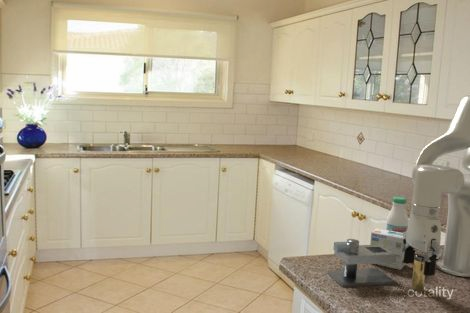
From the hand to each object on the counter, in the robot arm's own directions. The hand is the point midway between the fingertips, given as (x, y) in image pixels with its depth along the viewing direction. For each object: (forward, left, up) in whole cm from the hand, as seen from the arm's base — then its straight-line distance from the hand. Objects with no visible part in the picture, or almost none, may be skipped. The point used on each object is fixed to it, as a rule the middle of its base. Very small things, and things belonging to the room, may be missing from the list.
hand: (418, 268), depth 139 cm
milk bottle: (-12, -30, -6) cm, 33 cm away
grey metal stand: (+13, -9, -6) cm, 17 cm away
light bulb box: (-3, -20, -7) cm, 21 cm away
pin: (-1, 0, -6) cm, 6 cm away
